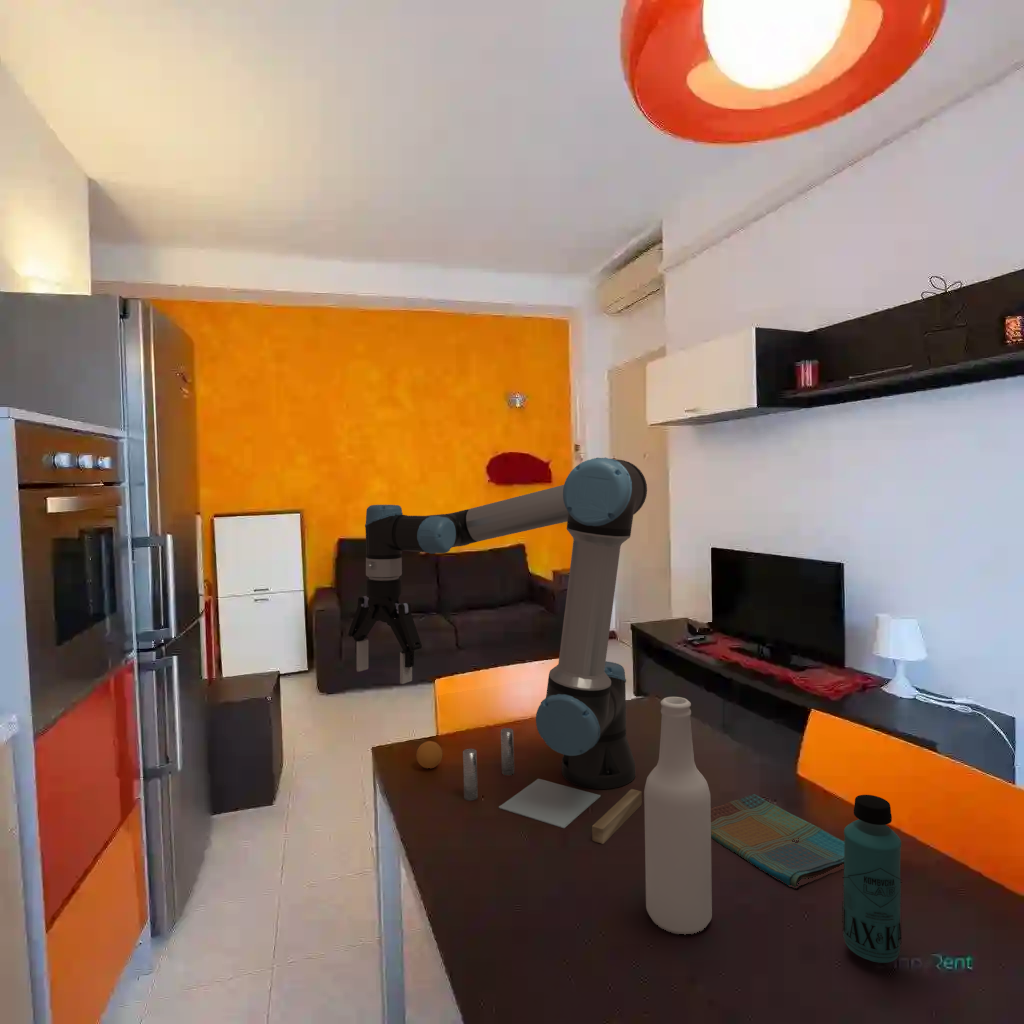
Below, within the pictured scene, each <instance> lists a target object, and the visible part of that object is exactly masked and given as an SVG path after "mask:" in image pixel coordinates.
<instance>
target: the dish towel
mask: <svg viewBox="0 0 1024 1024" xmlns="http://www.w3.org/2000/svg"><path fill="white" fill-rule="evenodd" d="M798 838H799V839H798ZM793 839H794V840H795V842H796V840H797V841H798V840H799V842H798V843H795V842H792V840H793ZM711 840H713V841H715V842H716V843H718V844H719V845H721V846H723V847H724V848H725V849H727V848H728V849H727V850H729V849H730V850H729V851H731V852H732V851H733V852H735V853H736V854H735V853H734V854H735V855H737V854H738V855H739V856H741V857H742V858H744V859H746V860H747V861H749V862H751V863H752V864H754V865H755V866H757V867H759V868H760V869H761V870H764V871H765V872H767V873H768V874H770V875H772V876H774V877H776V878H777V879H780V880H781V881H783V882H784V883H786V884H787V885H792V886H794V887H796V886H798V885H797V883H798V882H799V881H800V880H801V879H806V878H808V879H809V878H813V877H816V876H818V875H821V874H824V873H826V872H828V871H830V870H832V869H834V868H836V867H839V866H840V865H842V864H844V842H845V840H842V839H840V838H838V837H837V836H835V835H833V834H831V833H830V832H829V831H826V830H824V829H822V828H821V827H819V826H817V825H815V824H813V823H810V821H809V822H808V820H807V821H806V820H805V819H803V818H801V817H798V816H797V815H795V814H792V813H790V812H788V811H787V810H785V809H783V808H781V807H780V806H778V805H776V804H773V803H771V801H770V802H769V801H767V800H766V799H764V798H762V797H761V796H759V795H757V794H754V793H751V794H749V795H747V796H743V797H740V798H738V799H735V800H731V801H729V802H726V803H723V804H719V805H715V806H713V807H711ZM794 840H793V841H794ZM733 852H732V853H733ZM738 855H737V856H738ZM739 856H738V857H739ZM741 857H740V858H741ZM742 858H741V859H742ZM744 859H743V860H744ZM747 861H746V862H747ZM749 862H748V863H749ZM752 864H751V865H752ZM755 866H754V867H755ZM760 869H759V870H760ZM761 870H760V871H761ZM765 872H764V873H765ZM768 874H767V875H768ZM770 875H769V876H770ZM784 883H783V884H784ZM798 884H799V883H798ZM787 885H786V886H787Z"/></svg>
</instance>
